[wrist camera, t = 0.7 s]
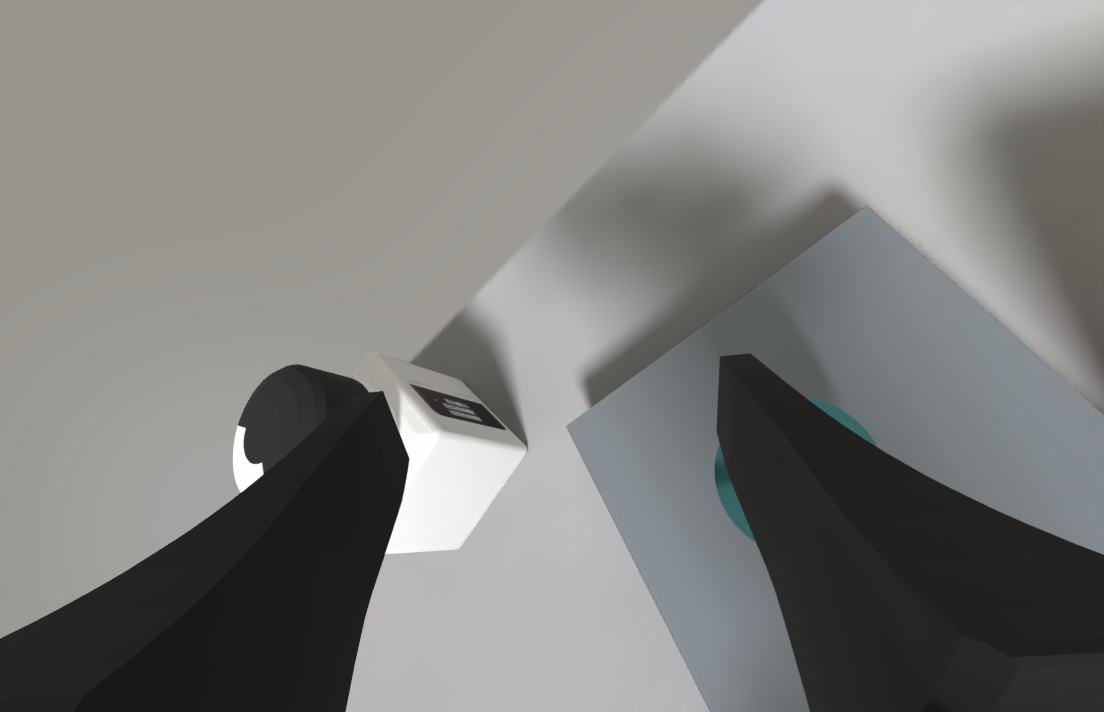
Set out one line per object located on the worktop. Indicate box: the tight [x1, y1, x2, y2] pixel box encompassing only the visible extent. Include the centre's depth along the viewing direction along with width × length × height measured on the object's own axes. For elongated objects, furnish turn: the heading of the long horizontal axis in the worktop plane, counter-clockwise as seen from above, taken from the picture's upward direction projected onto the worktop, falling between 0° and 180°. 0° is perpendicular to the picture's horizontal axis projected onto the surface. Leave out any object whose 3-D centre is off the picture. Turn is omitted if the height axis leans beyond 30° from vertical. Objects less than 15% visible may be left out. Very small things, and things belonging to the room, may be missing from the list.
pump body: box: [566, 206, 1104, 712], centre depth 21 cm, size 16×16×4 cm
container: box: [233, 352, 527, 554], centre depth 28 cm, size 8×8×13 cm
